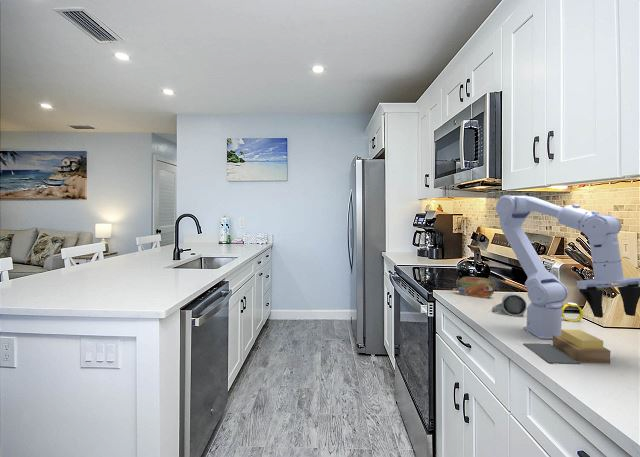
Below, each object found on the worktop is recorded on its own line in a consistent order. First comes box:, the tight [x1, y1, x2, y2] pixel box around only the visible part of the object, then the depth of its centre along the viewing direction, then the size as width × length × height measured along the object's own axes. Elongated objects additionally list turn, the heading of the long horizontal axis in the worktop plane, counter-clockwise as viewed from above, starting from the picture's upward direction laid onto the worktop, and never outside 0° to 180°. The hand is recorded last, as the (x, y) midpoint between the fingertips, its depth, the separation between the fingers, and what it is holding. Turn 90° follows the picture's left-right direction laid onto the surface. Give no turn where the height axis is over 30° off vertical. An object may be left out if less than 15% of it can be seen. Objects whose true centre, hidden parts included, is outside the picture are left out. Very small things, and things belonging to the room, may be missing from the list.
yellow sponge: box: [561, 329, 604, 349], centre depth 88 cm, size 8×5×2 cm, turn 176°
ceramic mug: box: [492, 291, 528, 317], centre depth 125 cm, size 11×8×8 cm
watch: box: [562, 302, 584, 322], centre depth 115 cm, size 6×3×6 cm, turn 74°
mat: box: [522, 342, 581, 365], centre depth 89 cm, size 12×7×1 cm, turn 176°
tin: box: [456, 276, 496, 299], centre depth 149 cm, size 15×3×8 cm, turn 55°
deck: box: [552, 335, 612, 364], centre depth 88 cm, size 10×8×3 cm
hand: (614, 316), depth 86 cm, fingers open, 7 cm apart
